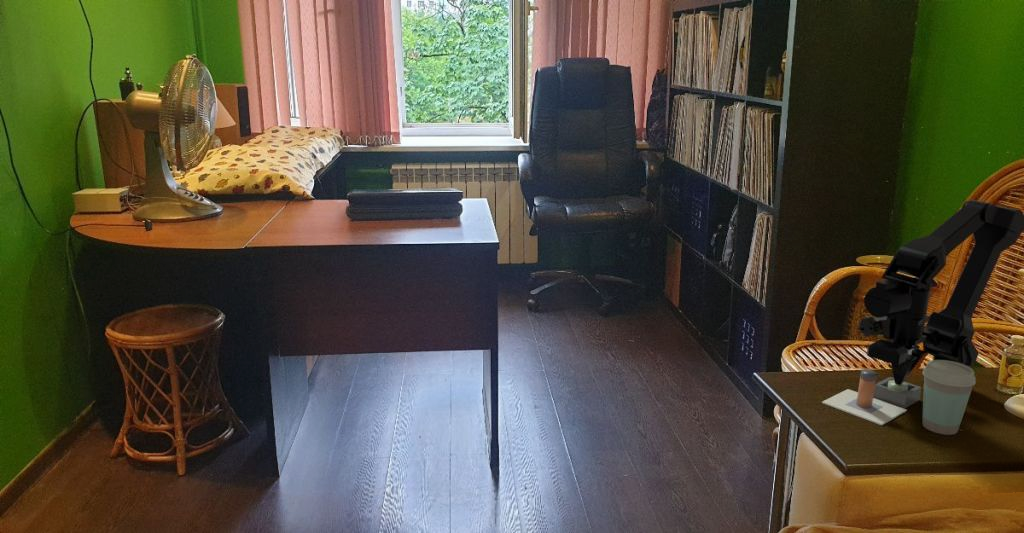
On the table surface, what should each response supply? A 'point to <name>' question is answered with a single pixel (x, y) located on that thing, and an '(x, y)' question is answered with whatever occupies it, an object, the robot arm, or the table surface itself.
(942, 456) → the table surface
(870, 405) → the marker
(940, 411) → the coffee cup
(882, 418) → the paper
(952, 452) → the table surface
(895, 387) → the button
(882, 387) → the button housing
